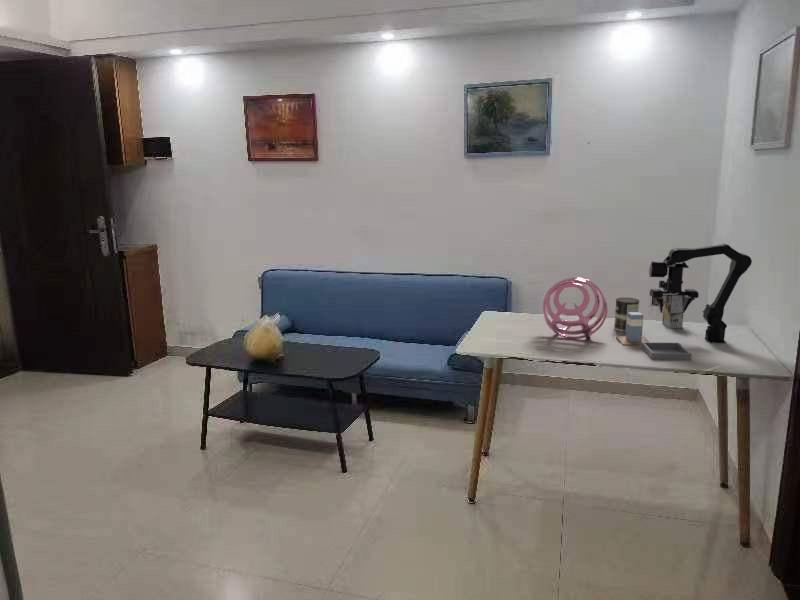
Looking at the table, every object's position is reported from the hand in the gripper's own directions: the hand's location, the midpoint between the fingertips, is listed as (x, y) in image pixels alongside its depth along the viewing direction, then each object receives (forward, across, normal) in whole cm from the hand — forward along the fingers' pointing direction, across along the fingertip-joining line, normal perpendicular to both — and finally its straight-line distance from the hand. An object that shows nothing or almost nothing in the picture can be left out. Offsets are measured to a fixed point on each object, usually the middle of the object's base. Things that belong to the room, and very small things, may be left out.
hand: (672, 312), depth 254 cm
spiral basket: (+12, +42, -2) cm, 44 cm away
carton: (+11, +17, +6) cm, 21 cm away
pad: (+12, +17, +6) cm, 22 cm away
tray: (+12, +9, +23) cm, 27 cm away
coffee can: (+12, +15, -16) cm, 25 cm away
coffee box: (+12, -8, -23) cm, 27 cm away
